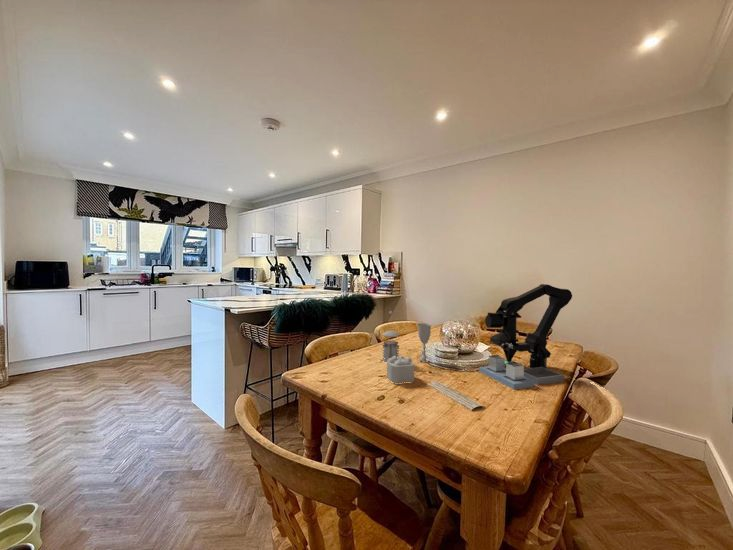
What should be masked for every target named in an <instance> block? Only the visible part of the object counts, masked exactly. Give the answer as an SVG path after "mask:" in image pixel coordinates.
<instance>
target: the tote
mask: <svg viewBox="0 0 733 550" xmlns="http://www.w3.org/2000/svg"><path fill="white" fill-rule="evenodd" d="M524 377H526V378H528V379H531V380H533V381H535V386H541V385H542V386H543V385H547V384H555V383H556V384H557V383H562V382H565V374H562V373H559V372H558V371H554V370H552V369H550V368H549V369H546V368H544V367H536V368H531V367H529V368H524Z"/></svg>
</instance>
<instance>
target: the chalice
mask: <svg viewBox="0 0 733 550" xmlns="http://www.w3.org/2000/svg"><path fill="white" fill-rule="evenodd" d="M417 327H418V331H417V332H418V338H419V341H420V342H421V344H422V352H423V353H422V355H420V358H419V360H422V361H426V356H427V355H426V352H427V351H426V344H428V342H429V340H430V337H431V329H432V324H431V323H425V322H421V323H417Z"/></svg>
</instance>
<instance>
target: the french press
mask: <svg viewBox="0 0 733 550" xmlns="http://www.w3.org/2000/svg"><path fill="white" fill-rule="evenodd" d="M388 314H390V315H393V314H394V312H393V311H392V310H391V311H390V310H389V311H388ZM382 336H383V337H387V338H391V340H385V341H383V344H382V360H383V361H384V362H387V360H388V359H389V358H391V357H393V356H396V357H398V356H400V355H399V352H400V345H398V344H399V342H398V341H396V340H393V338H396V337H399V336H400V334H399V333H398V331H394V330H386V331H384V332H383V333H382ZM384 358H385V359H384Z"/></svg>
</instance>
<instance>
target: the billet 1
mask: <svg viewBox="0 0 733 550" xmlns="http://www.w3.org/2000/svg"><path fill="white" fill-rule="evenodd" d="M505 358H506V357H502V356H501V355H498V354H493V355H488V366H489V370H491V371H493V372H495V373H499V372H504V369H505V360H506V359H505Z"/></svg>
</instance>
